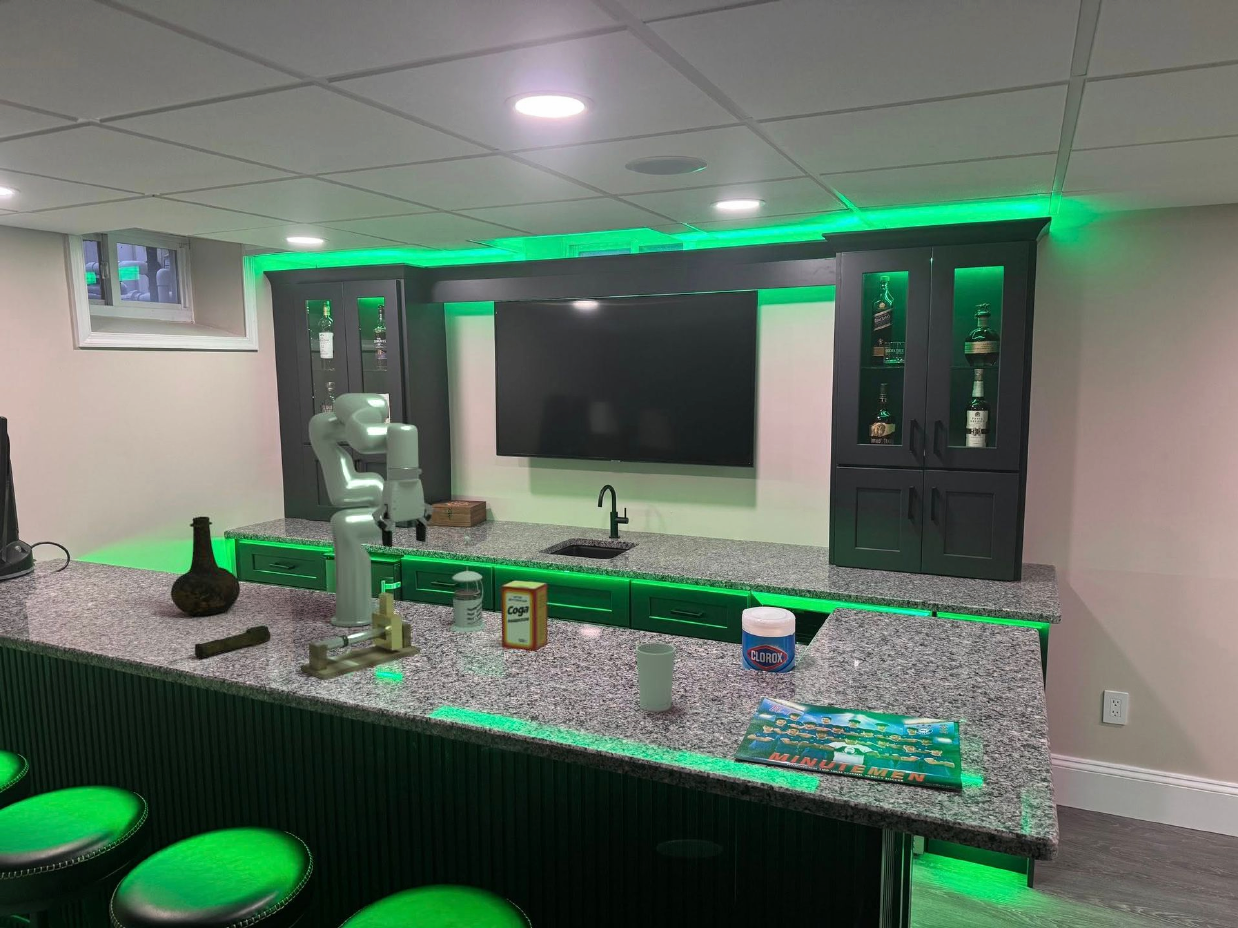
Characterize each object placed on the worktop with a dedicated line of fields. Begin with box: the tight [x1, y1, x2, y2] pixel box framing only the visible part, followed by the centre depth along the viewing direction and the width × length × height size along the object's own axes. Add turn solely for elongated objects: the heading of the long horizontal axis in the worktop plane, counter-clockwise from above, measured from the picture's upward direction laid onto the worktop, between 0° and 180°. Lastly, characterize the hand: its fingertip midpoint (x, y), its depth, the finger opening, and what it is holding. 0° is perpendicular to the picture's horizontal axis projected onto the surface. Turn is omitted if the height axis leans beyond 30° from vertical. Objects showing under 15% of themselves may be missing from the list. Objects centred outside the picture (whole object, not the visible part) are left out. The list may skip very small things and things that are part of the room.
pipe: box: [314, 620, 407, 652], centre depth 202 cm, size 24×3×3 cm, turn 140°
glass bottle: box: [170, 516, 241, 617], centre depth 247 cm, size 18×18×28 cm
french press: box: [449, 535, 487, 633], centre depth 233 cm, size 10×12×25 cm
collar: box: [371, 592, 403, 650], centre depth 207 cm, size 3×8×13 cm, turn 50°
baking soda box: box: [500, 580, 548, 652], centre depth 215 cm, size 10×6×16 cm
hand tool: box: [194, 625, 272, 660], centre depth 211 cm, size 19×4×5 cm, turn 142°
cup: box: [635, 642, 676, 713], centre depth 173 cm, size 8×8×12 cm
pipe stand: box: [300, 622, 421, 681], centre depth 202 cm, size 26×10×7 cm, turn 140°
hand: (404, 543), depth 210 cm, fingers open, 9 cm apart
